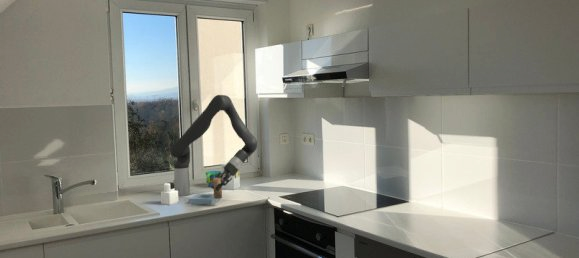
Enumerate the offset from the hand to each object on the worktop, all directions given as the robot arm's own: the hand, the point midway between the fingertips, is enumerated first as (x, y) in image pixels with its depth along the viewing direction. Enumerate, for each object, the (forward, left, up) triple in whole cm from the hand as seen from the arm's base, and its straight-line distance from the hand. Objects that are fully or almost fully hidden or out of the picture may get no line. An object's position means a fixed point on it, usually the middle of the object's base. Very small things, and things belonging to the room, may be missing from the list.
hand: (214, 189), depth 276 cm
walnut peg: (+1, +1, -5) cm, 6 cm away
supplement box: (-9, +49, -10) cm, 51 cm away
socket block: (-11, +10, -10) cm, 18 cm away
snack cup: (-23, +54, -10) cm, 60 cm away
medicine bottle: (-30, +3, -10) cm, 31 cm away
